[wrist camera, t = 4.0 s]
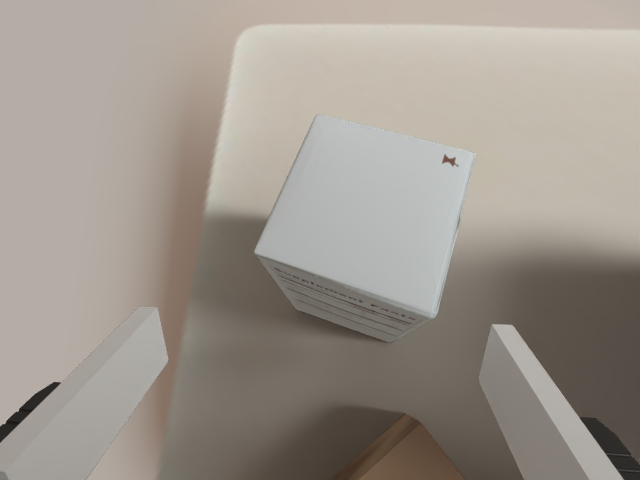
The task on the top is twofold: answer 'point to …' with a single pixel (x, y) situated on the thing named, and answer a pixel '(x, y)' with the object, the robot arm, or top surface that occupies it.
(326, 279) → the supplement box
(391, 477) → the walnut block
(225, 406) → the top surface
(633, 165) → the top surface
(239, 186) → the top surface
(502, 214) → the top surface
